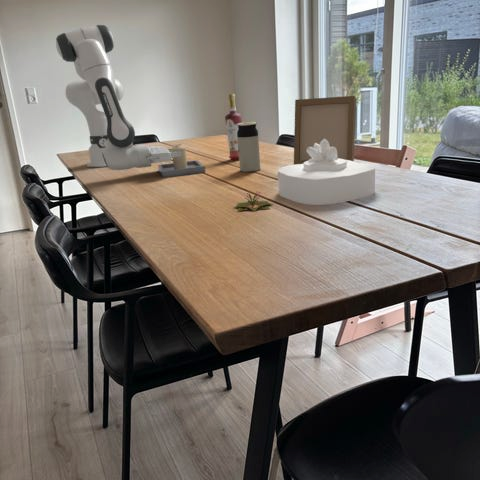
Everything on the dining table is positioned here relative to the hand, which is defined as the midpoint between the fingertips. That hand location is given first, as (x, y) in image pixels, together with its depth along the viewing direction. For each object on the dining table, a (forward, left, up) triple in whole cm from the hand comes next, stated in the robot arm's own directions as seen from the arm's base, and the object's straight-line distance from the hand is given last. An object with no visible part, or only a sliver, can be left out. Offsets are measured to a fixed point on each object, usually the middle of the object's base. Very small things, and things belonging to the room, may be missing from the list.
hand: (179, 151), depth 188 cm
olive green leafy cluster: (+69, +10, -9) cm, 70 cm away
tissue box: (+65, +34, -8) cm, 74 cm away
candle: (0, 0, -7) cm, 7 cm away
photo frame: (+25, +53, -8) cm, 59 cm away
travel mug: (+16, +25, -8) cm, 31 cm away
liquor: (-13, +27, -8) cm, 31 cm away
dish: (0, 0, -8) cm, 8 cm away
